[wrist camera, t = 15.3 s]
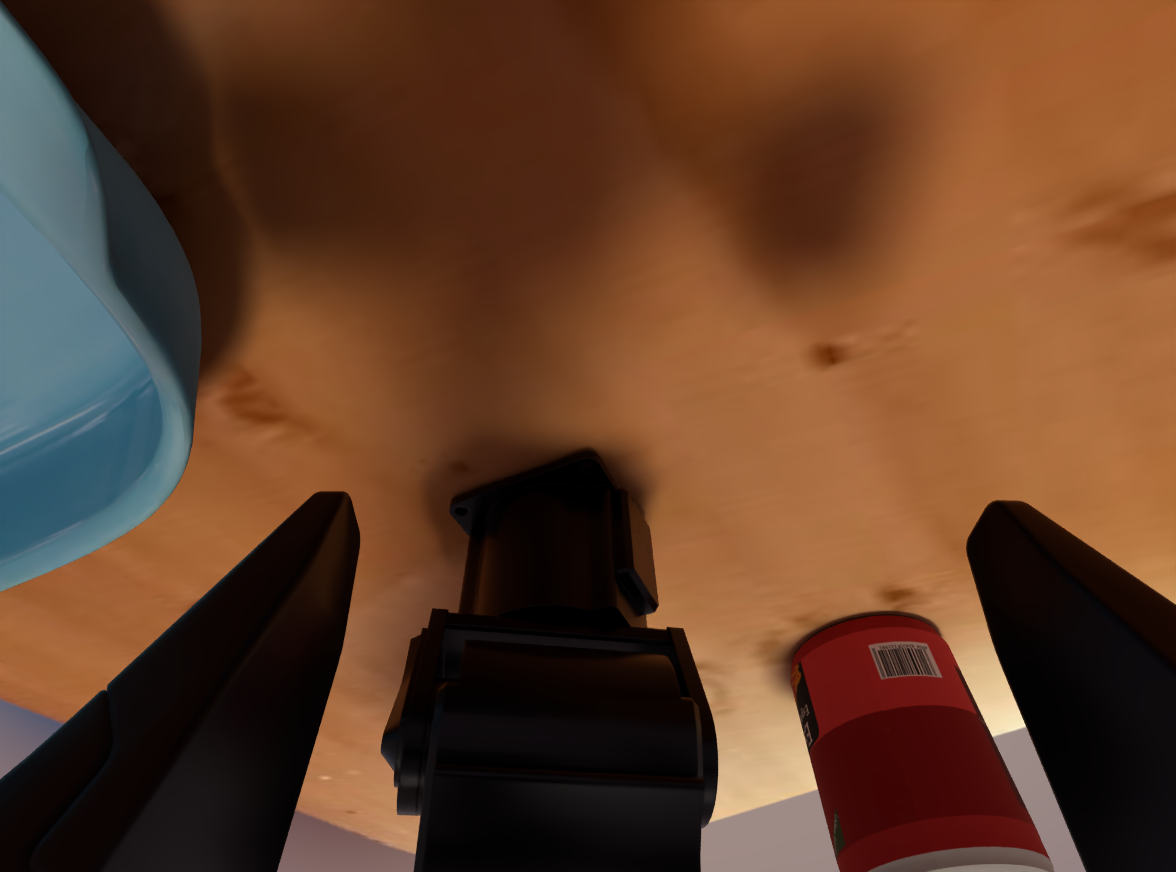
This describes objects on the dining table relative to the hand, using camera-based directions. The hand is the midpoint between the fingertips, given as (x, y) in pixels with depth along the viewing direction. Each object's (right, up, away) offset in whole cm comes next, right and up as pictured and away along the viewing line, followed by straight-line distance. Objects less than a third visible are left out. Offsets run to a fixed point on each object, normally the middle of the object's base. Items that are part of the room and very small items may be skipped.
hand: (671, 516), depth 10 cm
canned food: (+13, -10, +26) cm, 31 cm away
